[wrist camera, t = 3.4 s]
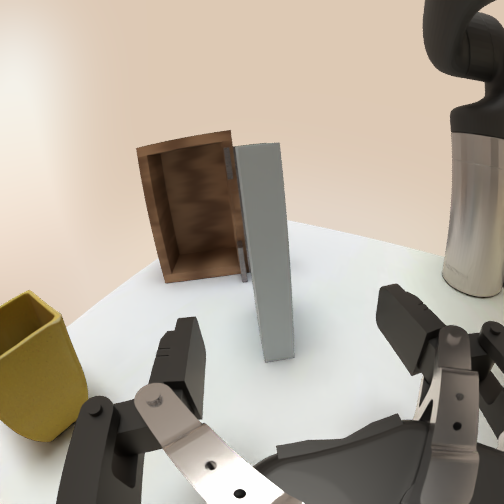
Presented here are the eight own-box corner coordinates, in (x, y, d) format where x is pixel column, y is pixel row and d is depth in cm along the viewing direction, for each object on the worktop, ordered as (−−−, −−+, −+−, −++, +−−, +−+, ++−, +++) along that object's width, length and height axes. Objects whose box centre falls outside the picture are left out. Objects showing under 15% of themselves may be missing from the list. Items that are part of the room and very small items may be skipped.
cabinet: (245, 249, 43) (230, 133, 36) (249, 272, 36) (230, 130, 29) (175, 259, 43) (153, 147, 36) (165, 283, 36) (136, 148, 29)
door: (278, 305, 28) (263, 143, 22) (294, 357, 21) (279, 142, 15) (255, 308, 28) (235, 146, 22) (264, 362, 21) (237, 146, 15)
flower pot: (69, 365, 21) (28, 287, 17) (117, 407, 17) (62, 313, 13) (12, 411, 14) (-42, 333, 10) (48, 470, 10) (-36, 385, 6)
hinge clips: (275, 266, 37) (263, 143, 31) (279, 277, 34) (266, 142, 28) (241, 271, 36) (224, 147, 30) (242, 282, 34) (223, 148, 28)
